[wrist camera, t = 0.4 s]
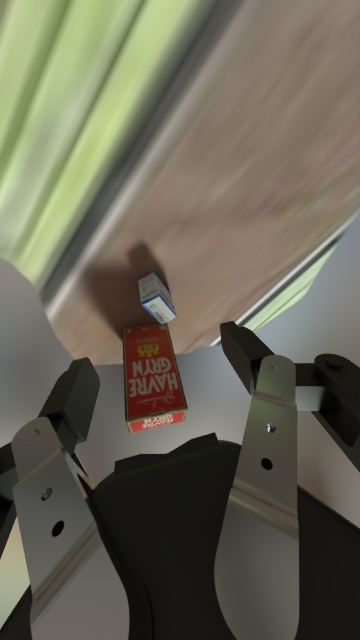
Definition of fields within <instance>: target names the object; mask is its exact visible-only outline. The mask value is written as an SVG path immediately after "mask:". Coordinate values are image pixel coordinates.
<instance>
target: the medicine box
mask: <svg viewBox="0 0 360 640" xmlns="http://www.w3.org/2000/svg"><path fill="white" fill-rule="evenodd" d="M138 283H139V291H140V300H141V305H142V306H143V307H144V308H145V309H146V310H147V311H148V312H149V313H150V314H151V315H152V316H153V317H154V318H155V319H156V320H157V321H158V322H159V323H160V324H161V325H162V324H164V323H166V322H168V321H170V320H172V319H173V318H175V317H177V315H176V312H175V308H174V304H173V301H172V297H171V293H170V292H169V291H168V289H167V288H166V287H165V285H164V284H163V283H162V281H161V280H160V279H159V278H158V276H157V275H156V274H155V272H153V273H151V274H149V275H147V276H146V277H144V278H142V279H140V280H139V281H138Z"/></svg>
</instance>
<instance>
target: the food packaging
mask: <svg viewBox="0 0 360 640" xmlns="http://www.w3.org/2000/svg"><path fill="white" fill-rule="evenodd" d="M122 333H123V364H124V389H125V390H124V393H125V420H126V423H127V426H128V430H129V432H130V433H134V432H139V431H143V430H147V429H151V428H156V427H160V426H164V425H169V424H173V423H178V422H183V421H184V419H185V414H186V410H187V409H188V407H187V403H186V399H185V395H184V391H183V387H182V383H181V379H180V374H179V370H178V367H177V362H176V358H175V354H174V350H173V345H172V341H171V337H170V333H169V329H168V325H167V323H164V324H162V325H161V324H155V325H146V326H138V327H127V328H122Z"/></svg>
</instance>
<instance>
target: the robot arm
mask: <svg viewBox="0 0 360 640" xmlns="http://www.w3.org/2000/svg"><path fill="white" fill-rule="evenodd" d="M220 332H221V343H222V348H223V351H224V354H225V355H226V357H227V358H228V360H229V362H230V363H231V365H232V367H233V368H234V370H235V371H236V373H237V375H238V376H239V378H240V379H241V381H242V383H243V384H244V386H245V388H246V389H247V391H248V392H249V394H250V395H253V396H252V400H251V405H250V409H249V414H248V419H247V423H246V428H245V432H244V437H243V442H242V445H239V444H237V443H234V442H230V441H224V440H217V437H216V434H215V433H211V434H208V435H204V436H201V437H197V438H194V439H191V440H189V441H187V442H186V443H184V444H182V445H181V446H179V447H178V448H176V449H174V450H173V451H171V452H169V453H167V454H139V455H135V456H132V457H129V458H125V459H122V460H118V461H115V469H114V472H112V473H111V474H110V475H108V476H107V477H106V478H104V479H103V480H102V481H101V482H100V483H99V484H98V485H97V486H95V484H94V483H93V481H92V480H91V478H90V476H89V474H88V473H87V471H86V469H85V467H84V465H83V464H82V462H81V460H80V458H79V457H78V455H77V453H76V452H75V446H76V444H77V443H81V442H84V441H86V439H87V435H88V431H89V427H90V423H91V419H92V415H93V411H94V407H95V403H96V399H97V395H98V391H99V388H100V380H99V376H98V375H97V373H96V371H95V369H94V367H93V365H92V363H91V361H90V359H89V358H87V357H85V358H81V359H77V360H73V361H72V363H71V365H70V367H69V369H68V371H65V372H64V373H63V374H62V375H61V376H60V377H59V378H58V380H57V382H56V383H55V385H54V388H53V389H52V391H51V393H50V395H49V397H48V399H47V400H46V402H45V404H44V406H43V408H42V410H41V412H40V414H39V416H38V417H37V418H36V419H34V420H32V421H30V422H29V423H27V424H26V425H24V426H23V427H22V428H21V429H20V430H19V431H18V432H17V433H16V435H15V436H14V438H13V440H12V442H10V443H8V444H7V445H5V446H3V447H1V448H0V558H1V556H2V553H3V551H4V548H5V545H6V543H7V540H8V538H9V535H10V532H11V530H12V527H13V524H14V522H15V519H16V516H17V517H18V522H19V528H20V532H21V537H22V543H23V548H24V553H25V559H26V564H27V569H28V574H29V579H30V585H29V587H28V588H27V590H26V591H25V593H24V594H23V596H22V597H21V599H20V600H19V602H18V603H17V605H16V606H15V608H14V609H13V611H12V612H11V614H10V616H9V617H8V618H7V620H6V622H5V623H4V624H3V626H2V628H1V629H0V640H360V528H358V527H357V526H356V525H354V524H353V523H351V522H350V521H349V520H347V519H346V518H344V517H343V516H342V515H340V514H339V513H337V512H336V511H334V510H333V509H332V508H330V507H329V506H327V505H326V504H325V503H323V502H322V501H321V500H319V499H318V498H316V497H315V496H314V495H312V494H311V493H309V492H308V491H306V490H305V489H304V488H302V487H301V486H299V485H298V484H297V410H302V411H311V412H312V414H313V415H314V416H315V417H316V418H317V420H318V421H319V422H320V423H321V425H322V426H323V427H324V428H325V430H326V431H327V432H328V433H329V435H330V436H331V437H332V438H333V440H334V441H335V442H336V443H337V445H338V446H339V447H340V448H341V450H342V451H343V452H344V453H345V455H346V456H347V457H348V458H349V460H350V461H351V462H352V463H353V465H354V466H355V467H356V468H357V470H358V471H359V472H360V368H359V367H358V366H356V365H355V364H354V363H352V362H351V361H350V360H348V359H346V358H344V357H342V356H339V355H335V354H321V355H318V356H317V357H316V358H315V360H314V363H303V364H302V363H300V364H296V363H293V362H292V361H291V360H290V359H288V358H287V357H284V356H280V355H275V354H274V353H273V352H272V351H271V350H270V349H269V348H268V347H267V346H266V345H265V344H264V343H263V342H262V341H261V340H260V339H259V338H258V337H257V336H256V335H255V334H254V333H253V332H252V331H251V330H250V329H248V328H245V327H238V326H237V325H236V324H235V322H234V321H229V322H225V323H222V324H220Z"/></svg>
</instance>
